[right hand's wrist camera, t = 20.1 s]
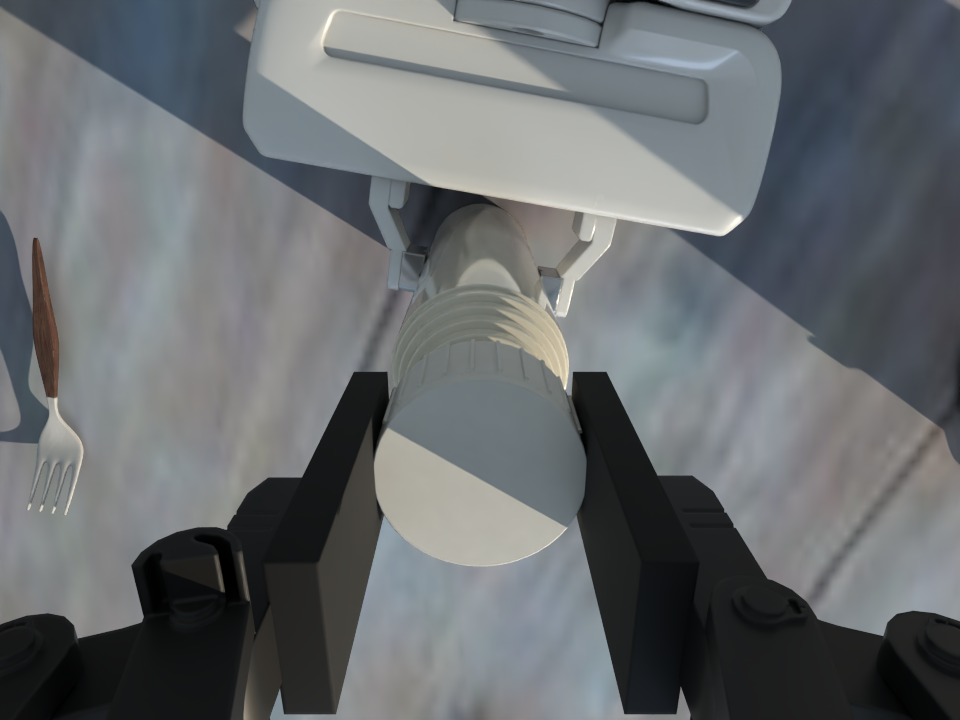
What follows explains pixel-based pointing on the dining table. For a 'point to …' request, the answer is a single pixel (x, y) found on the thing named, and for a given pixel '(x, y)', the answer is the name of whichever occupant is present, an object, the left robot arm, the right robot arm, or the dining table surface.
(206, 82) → the dining table surface
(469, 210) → the bottle
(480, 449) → the cap
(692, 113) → the left robot arm
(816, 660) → the right robot arm
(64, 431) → the fork
